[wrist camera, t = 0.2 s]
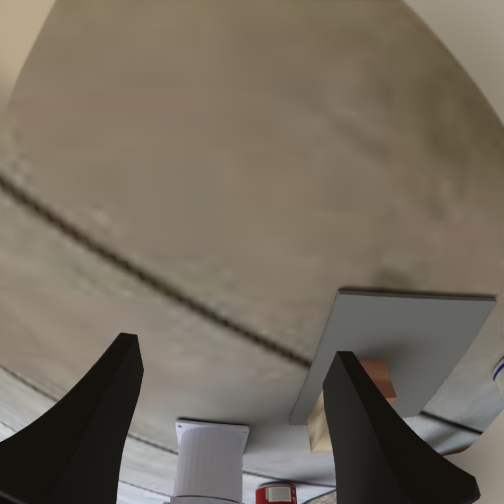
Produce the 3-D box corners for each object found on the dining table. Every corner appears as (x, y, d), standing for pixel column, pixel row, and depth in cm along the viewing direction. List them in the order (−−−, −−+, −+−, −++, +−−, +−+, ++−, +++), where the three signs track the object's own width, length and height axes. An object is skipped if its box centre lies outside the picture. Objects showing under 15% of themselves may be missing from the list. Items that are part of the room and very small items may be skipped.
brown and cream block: (347, 418, 31) (353, 450, 27) (306, 420, 30) (310, 453, 27) (383, 360, 25) (396, 397, 22) (335, 360, 25) (344, 400, 22)
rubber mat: (415, 412, 32) (416, 416, 32) (288, 421, 31) (288, 424, 31) (493, 297, 23) (496, 301, 23) (338, 289, 22) (339, 294, 22)
